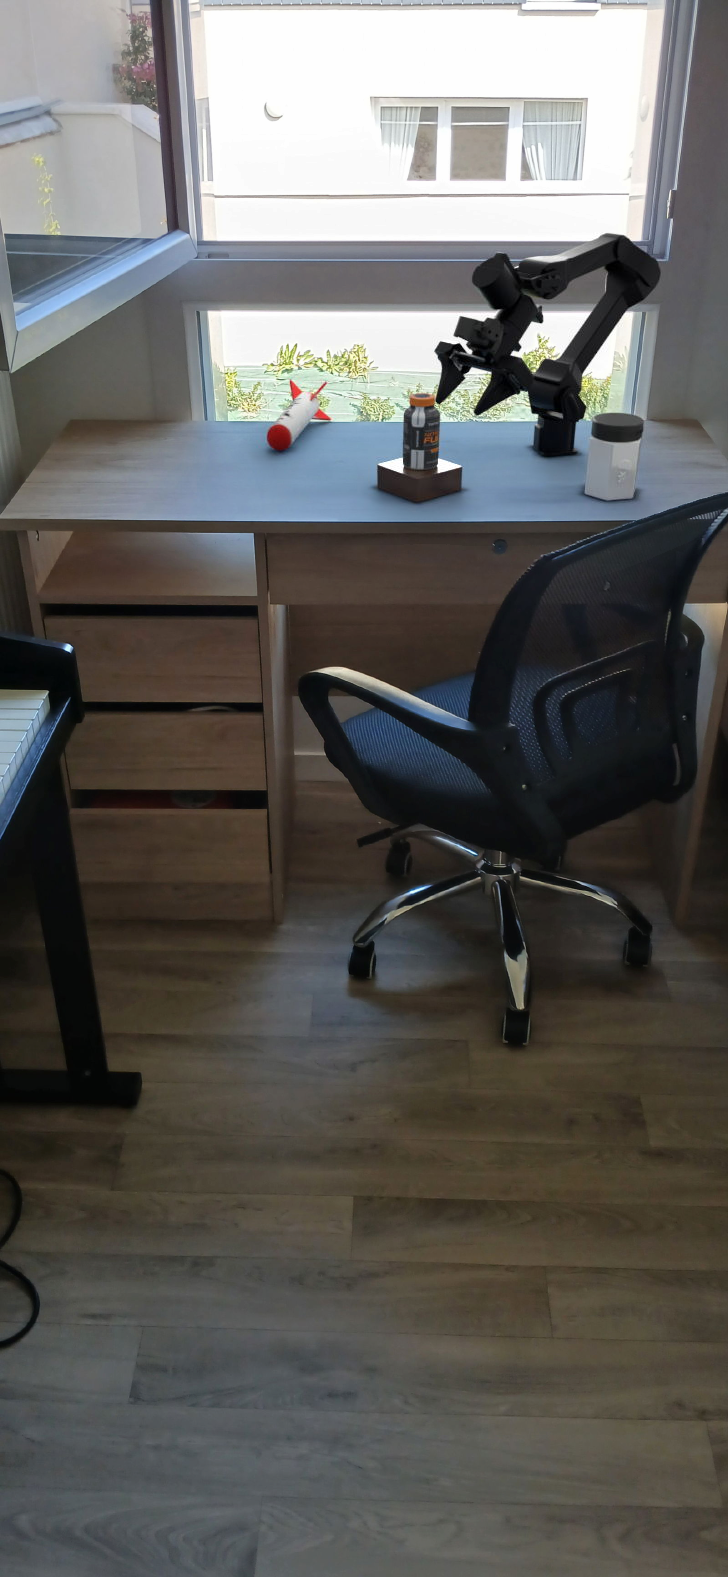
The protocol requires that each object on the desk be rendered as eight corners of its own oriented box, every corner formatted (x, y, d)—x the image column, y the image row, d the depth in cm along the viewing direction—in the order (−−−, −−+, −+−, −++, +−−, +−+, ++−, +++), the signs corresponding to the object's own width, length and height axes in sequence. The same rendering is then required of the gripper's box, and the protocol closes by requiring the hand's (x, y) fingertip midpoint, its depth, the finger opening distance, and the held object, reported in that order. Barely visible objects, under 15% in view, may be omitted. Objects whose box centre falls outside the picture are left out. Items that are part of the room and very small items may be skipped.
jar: (594, 502, 186) (602, 427, 180) (575, 486, 193) (582, 413, 187) (645, 498, 188) (655, 423, 182) (625, 482, 195) (633, 410, 188)
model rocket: (237, 438, 209) (270, 400, 204) (274, 397, 228) (305, 361, 222) (281, 480, 212) (315, 444, 207) (315, 436, 230) (346, 401, 225)
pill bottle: (427, 472, 187) (429, 401, 181) (395, 466, 190) (396, 396, 183) (444, 462, 191) (447, 393, 185) (413, 457, 194) (415, 388, 188)
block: (421, 475, 198) (422, 452, 196) (461, 489, 192) (462, 466, 190) (377, 487, 193) (377, 463, 191) (416, 502, 187) (417, 478, 185)
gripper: (444, 287, 190) (393, 367, 190) (526, 303, 178) (471, 389, 178) (476, 330, 198) (427, 407, 199) (556, 349, 186) (504, 431, 187)
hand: (455, 408), depth 190 cm, fingers open, 9 cm apart
